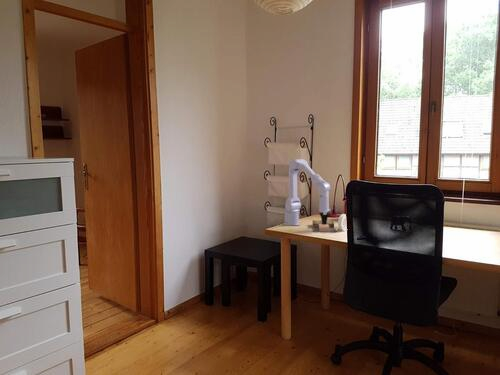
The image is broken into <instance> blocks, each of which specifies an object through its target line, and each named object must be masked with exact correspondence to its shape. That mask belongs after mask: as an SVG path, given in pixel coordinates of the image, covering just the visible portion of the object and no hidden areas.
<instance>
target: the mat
mask: <svg viewBox="0 0 500 375" xmlns="http://www.w3.org/2000/svg"><path fill="white" fill-rule="evenodd" d="M329 229H330V231H319V228H313V227H312V232H313V233H338V231H337V229H336V228H335V227H334V228H329Z"/></svg>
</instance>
